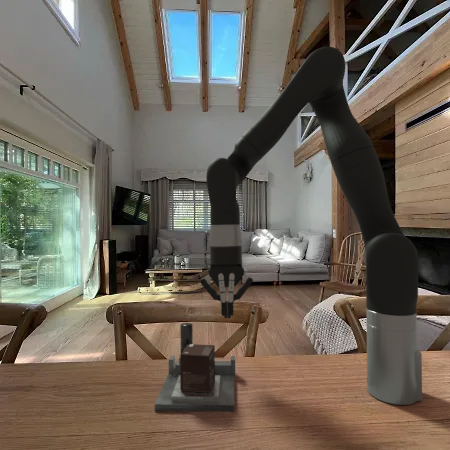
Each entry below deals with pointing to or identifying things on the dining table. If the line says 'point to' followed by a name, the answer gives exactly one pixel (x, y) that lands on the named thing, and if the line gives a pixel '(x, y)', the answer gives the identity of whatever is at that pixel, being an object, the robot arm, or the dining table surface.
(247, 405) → the dining table surface
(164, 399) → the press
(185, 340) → the lever
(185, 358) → the box
